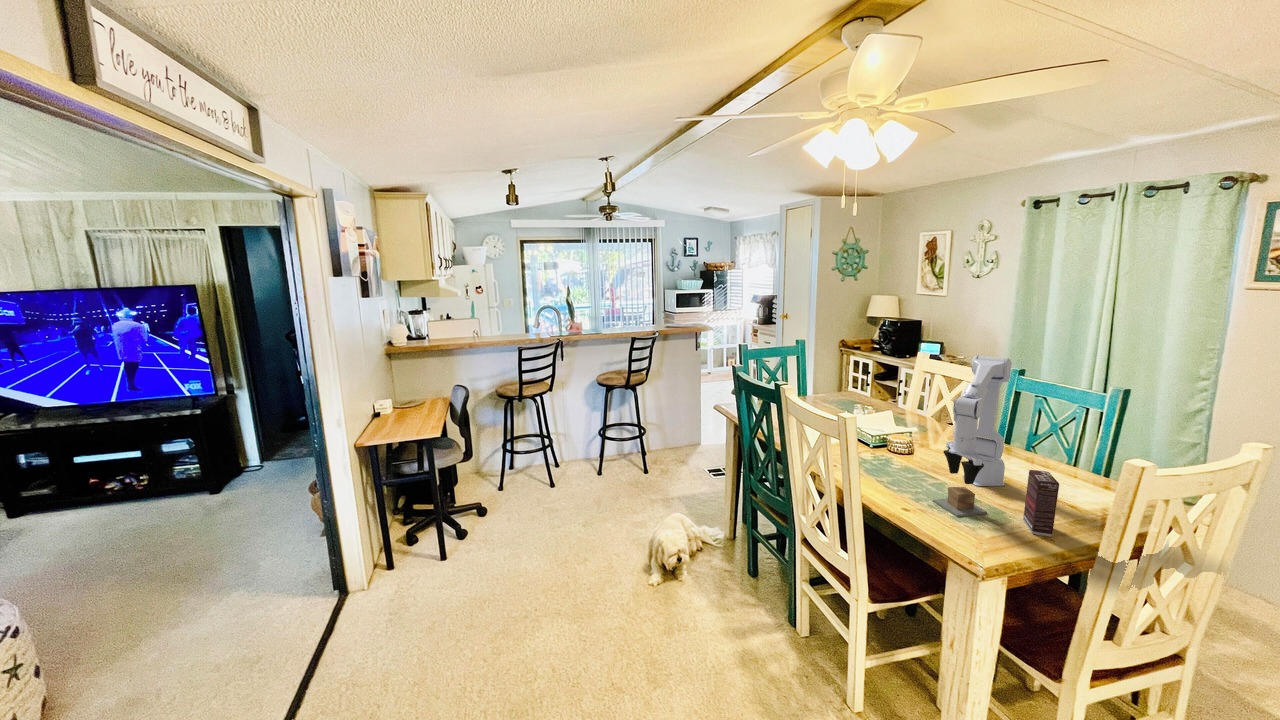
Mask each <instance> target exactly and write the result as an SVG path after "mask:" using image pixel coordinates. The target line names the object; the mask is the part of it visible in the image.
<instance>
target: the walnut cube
mask: <svg viewBox="0 0 1280 720" xmlns="http://www.w3.org/2000/svg"><path fill="white" fill-rule="evenodd" d="M947 489H948V490H947V492H948V493H947V498H948V501H947V502H948V503H949V504H951V505H952V506H953V507H954V508H956V509H957V510H960V509H974V504H975V496H976V493H975V492H973V491H971V490H970V489H969V488H967V487H966V486H948V488H947Z"/></svg>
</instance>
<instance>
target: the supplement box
mask: <svg viewBox="0 0 1280 720" xmlns="http://www.w3.org/2000/svg"><path fill="white" fill-rule="evenodd" d="M1059 488H1060V483H1059V481H1057V479H1056V478H1054V476H1053V475H1052V474H1051V472H1050V471H1045V470H1038V469H1037V470H1036V469H1029V471H1028V478H1027V487H1026V494H1025V503H1024V510H1023V511H1024V512H1023V518H1022V520H1023V522H1024V523H1025V525H1026V526H1027V528H1028V529H1029V531H1030V533H1031V534H1032V535H1036V536H1042V537H1043V536H1044V537H1051V538H1052V537H1053V532H1054V525H1055V524H1054V523H1055V519H1056V518H1055V517H1056V509H1057V502H1058V496H1059Z"/></svg>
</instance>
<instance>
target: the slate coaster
mask: <svg viewBox="0 0 1280 720" xmlns="http://www.w3.org/2000/svg"><path fill="white" fill-rule="evenodd" d="M947 501H948V497H946V498H938V499H933V500H932V502H933V503H934V504H936V505H938V506H939V507H941V508H942V509H944V510H946V512H949V513H950V514H952V515H953V516H955V517H957V518H959V517H968V516H975V515H976V516H977V515H984V514H988V511H987V510H986V509H984V508H982V507H980V506H978V505H977V504H975V503H974V509H960V510H957V509H956V508H954V507H953V506H952V505H951V504H949V503H948V502H947Z"/></svg>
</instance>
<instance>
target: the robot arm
mask: <svg viewBox="0 0 1280 720" xmlns="http://www.w3.org/2000/svg"><path fill="white" fill-rule="evenodd" d="M1011 369H1012V360H1011V359H1010V358H1009V357H994V356H986V355H979V354H978V355H977V354H976V355H975V356H974V357H973V358H972V362H971V372H972V374H973V375H974V376H973V380H972V381H971V382H968V383H967V384H966V386H965V388H964V389H963V391H962V394H961V395H960V396H959V397H957V398H955V399H954V402H953V406H952V413H953V421H954V428H953V429H954V431H953V441H946V444H945V445H946V446H945V448H946V449H944V450H943V454H944V456H945V458H946V462H947V465H948V469H949V473H950V474H955V475H956V474H959V470H960V465H962V468H963V474H962V477H963V480H964V481H963V482H964V484H966V485H974V486H976V487H995V486H996V487H997V486H998V487H1001V486H1005V485H1006V484H1005V483H1004V478H1005V470H1006V469H1005V468H1006V467H1005V462H1004V460H1003V459H1002V456H1003V453H1004V440H1005V439H1004V437H1003V436H1002V434H1000V432H998V431H997V430H996V429H995V428H996V421H997V416H998V415H997V413H998V407H999V398H1000V392H1001V387H1002V384H1003V383H1007V382H1009V380H1010V377H1011ZM963 458H964V459H966V460H967V461H963V460H962V459H963Z"/></svg>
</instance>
